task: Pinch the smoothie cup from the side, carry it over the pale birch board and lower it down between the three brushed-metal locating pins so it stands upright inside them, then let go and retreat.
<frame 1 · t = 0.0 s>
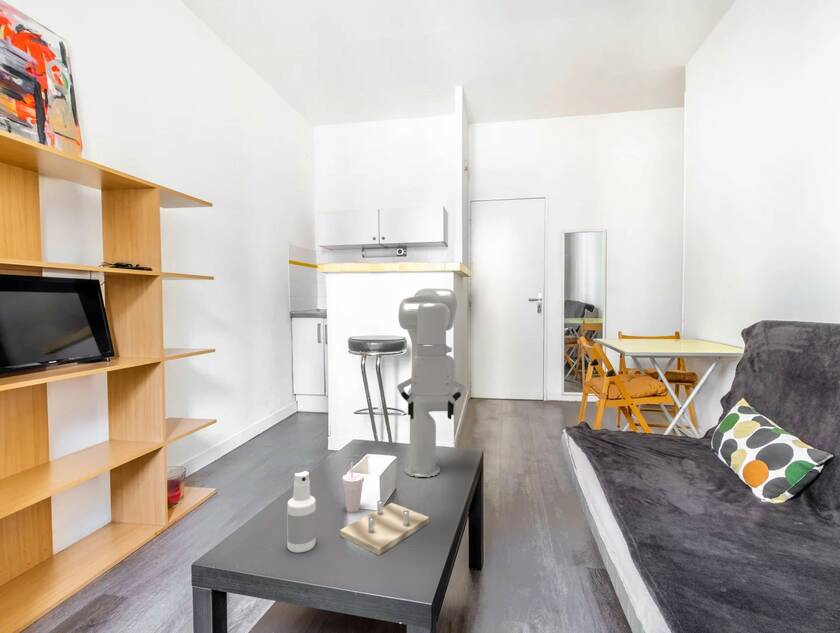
hand: (430, 417, 108), 31 cm above the table, tool pointing down, fingers open, 9 cm apart
pin board: (385, 528, 113), on the table
spray bottle: (301, 546, 104), on the table
smoothie: (353, 510, 123), on the table
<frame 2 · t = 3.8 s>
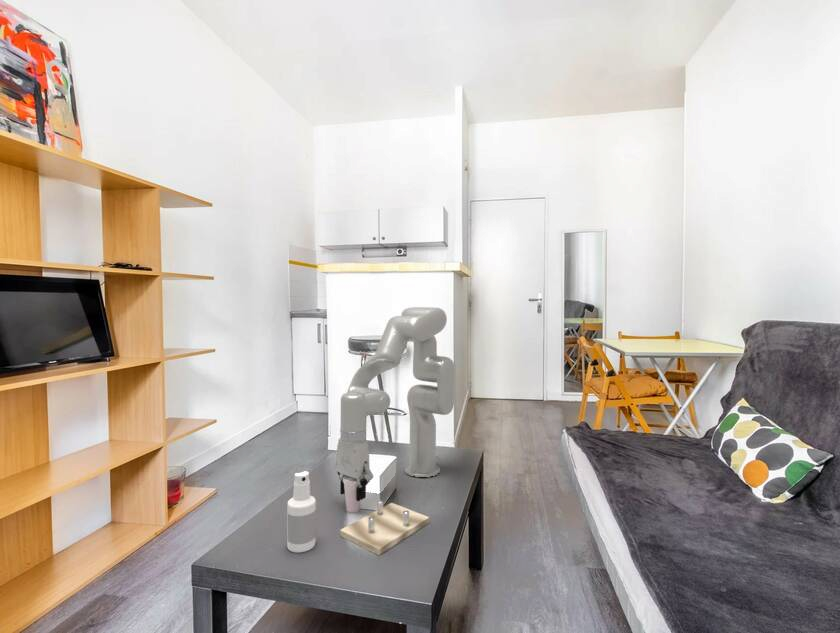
hand: (353, 495, 123), 4 cm above the table, tool pointing down, fingers closed on smoothie, 6 cm apart
smoothie: (352, 510, 123), on the table, touching gripper
everything else where it was.
when the fingers open (7 cm above the table, at t = 9.1 s): smoothie drops 1 cm, resting on pin board.
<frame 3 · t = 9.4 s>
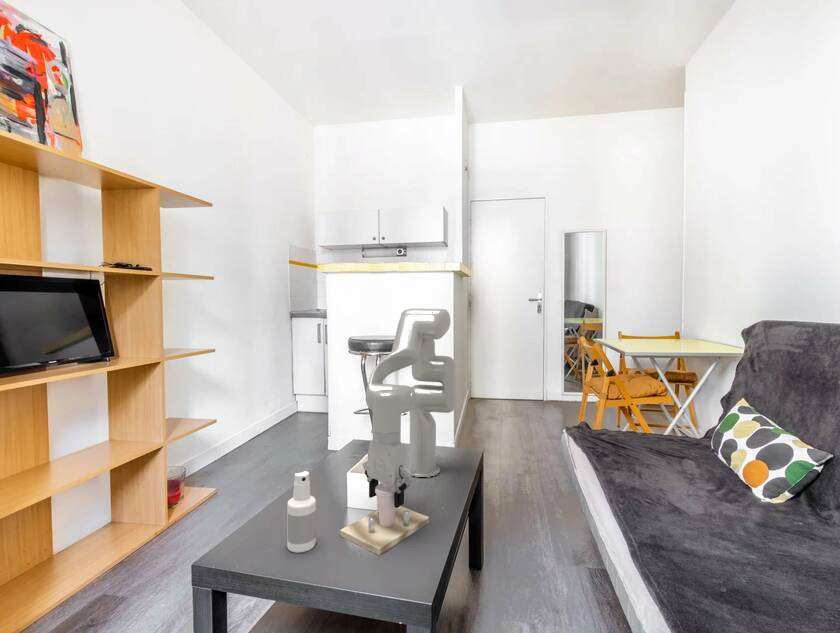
hand: (386, 500, 112), 8 cm above the table, tool pointing down, fingers open, 8 cm apart
smoothie: (386, 524, 112), point 1 cm above the table, touching pin board
everything else where it was.
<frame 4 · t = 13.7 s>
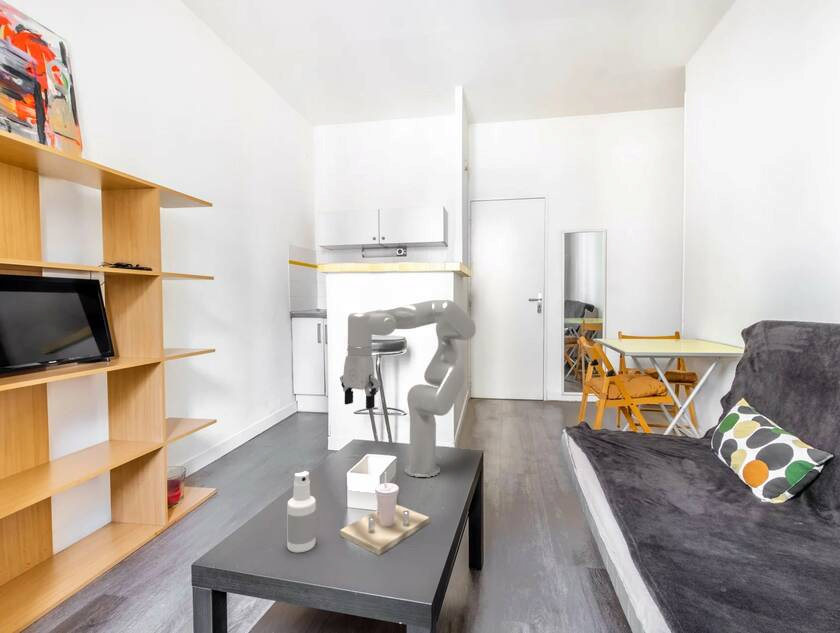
hand: (359, 405, 133), 28 cm above the table, tool pointing down, fingers open, 9 cm apart
nothing on the table moved.
at the end: smoothie 0.2 cm off-centre on the pin board, point 1.3 cm above the pin board's base; smoothie tilted 0°; the gripper is holding nothing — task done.
